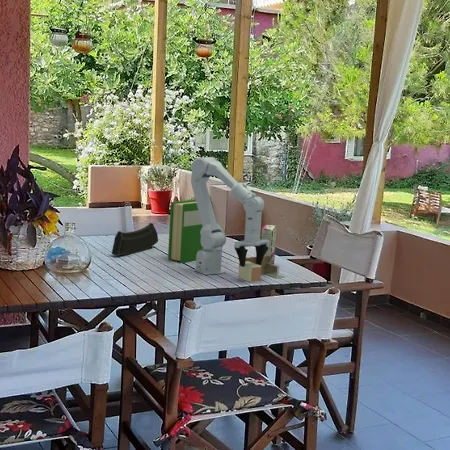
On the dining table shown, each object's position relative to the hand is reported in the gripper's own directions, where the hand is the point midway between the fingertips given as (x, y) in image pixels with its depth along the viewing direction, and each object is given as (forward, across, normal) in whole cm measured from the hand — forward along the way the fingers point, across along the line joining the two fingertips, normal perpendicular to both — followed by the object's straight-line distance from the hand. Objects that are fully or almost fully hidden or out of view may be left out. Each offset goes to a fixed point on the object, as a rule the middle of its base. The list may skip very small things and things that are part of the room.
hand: (250, 265), depth 254 cm
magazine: (+5, -17, +58) cm, 61 cm away
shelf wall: (+5, +6, +5) cm, 9 cm away
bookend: (+5, +13, +1) cm, 14 cm away
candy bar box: (+6, +20, +15) cm, 26 cm away
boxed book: (+5, 0, 0) cm, 5 cm away
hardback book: (+5, -3, +38) cm, 39 cm away
